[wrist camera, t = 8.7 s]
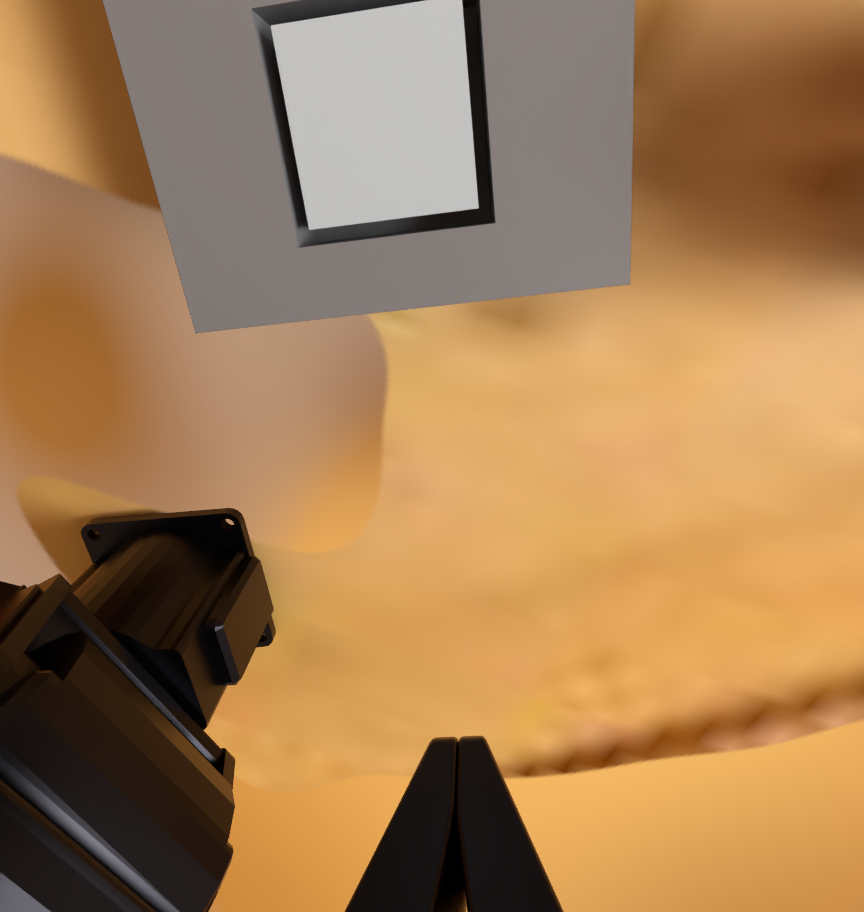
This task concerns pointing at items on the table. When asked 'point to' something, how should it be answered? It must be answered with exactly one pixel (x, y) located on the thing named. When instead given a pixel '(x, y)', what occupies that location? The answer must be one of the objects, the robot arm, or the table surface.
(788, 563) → the table surface
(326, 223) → the bluegrey key
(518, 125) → the keypad
